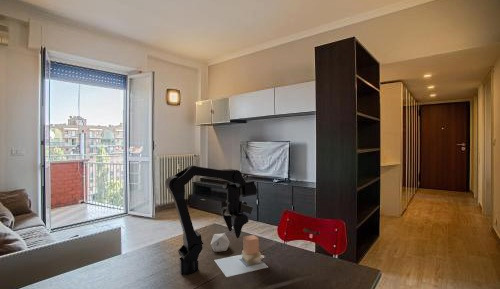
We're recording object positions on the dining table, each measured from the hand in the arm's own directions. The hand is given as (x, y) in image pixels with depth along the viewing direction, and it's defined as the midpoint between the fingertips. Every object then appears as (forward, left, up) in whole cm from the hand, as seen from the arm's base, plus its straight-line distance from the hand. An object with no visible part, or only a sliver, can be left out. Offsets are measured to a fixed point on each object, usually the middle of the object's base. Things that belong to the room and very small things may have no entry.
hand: (233, 234), depth 114 cm
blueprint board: (+1, -5, -12) cm, 13 cm away
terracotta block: (+6, -5, -7) cm, 10 cm away
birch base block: (+6, -5, -11) cm, 13 cm away
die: (-2, +13, -12) cm, 18 cm away
